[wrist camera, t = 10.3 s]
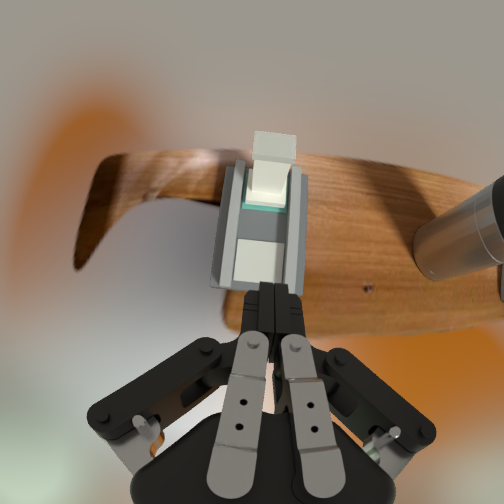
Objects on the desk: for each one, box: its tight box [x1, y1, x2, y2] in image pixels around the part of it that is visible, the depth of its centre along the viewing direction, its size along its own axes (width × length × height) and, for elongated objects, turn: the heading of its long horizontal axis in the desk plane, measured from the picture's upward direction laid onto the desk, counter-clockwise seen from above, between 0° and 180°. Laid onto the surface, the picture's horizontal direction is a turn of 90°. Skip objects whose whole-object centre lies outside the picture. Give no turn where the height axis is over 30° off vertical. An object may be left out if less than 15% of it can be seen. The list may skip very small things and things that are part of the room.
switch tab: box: [245, 131, 296, 208], centre depth 30 cm, size 4×5×10 cm
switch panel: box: [210, 160, 308, 297], centre depth 34 cm, size 16×11×4 cm
